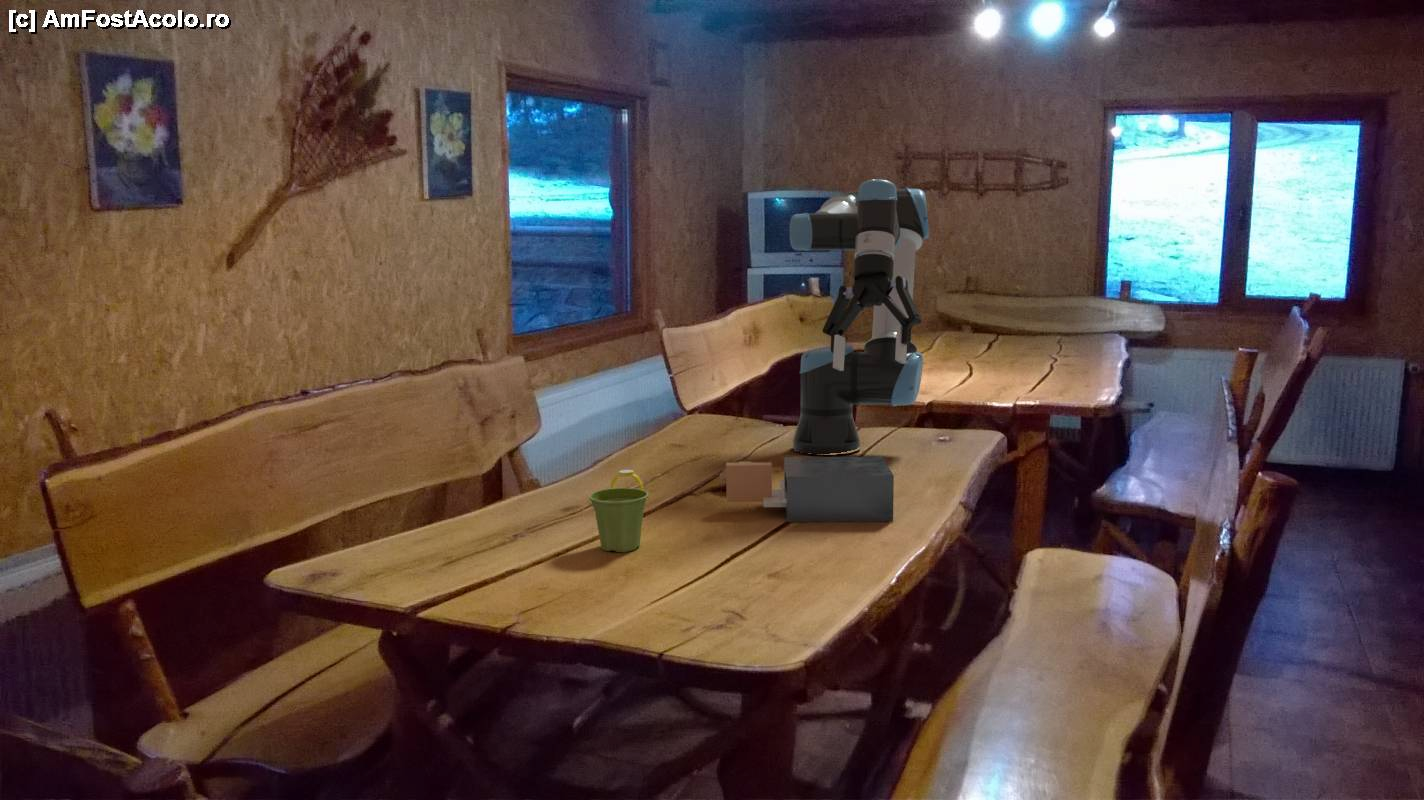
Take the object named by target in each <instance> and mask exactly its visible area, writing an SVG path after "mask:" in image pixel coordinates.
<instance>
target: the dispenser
mask: <svg viewBox="0 0 1424 800" xmlns="http://www.w3.org/2000/svg"><path fill="white" fill-rule="evenodd" d="M783 461H784V462H783V468H784V469H783V471H784V472H783V475H784V476H783V480H779V487H780V488H779V489H781V496H782V503H787V507H784V508H785V515H786V521H787V523H861V522H862V523H885V522H884V521H893V522H894V496H895V495H894V491H895V490H894V487H895V486H894V484H895V483H894V482H895V480H894V478H895V476H894V474H893V472H892V471H891V468H890V467H889V466H888V465H889V464H887V462H886V460H885V459H884V457H883V456H817V457H816V456H814V457H813V456H812V457H811V456H801V457H800V456H798V457H797V456H795V457H794V456H792V457H786V456H785V457H783ZM786 489H787V494H786ZM880 521H881V522H880Z"/></svg>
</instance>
